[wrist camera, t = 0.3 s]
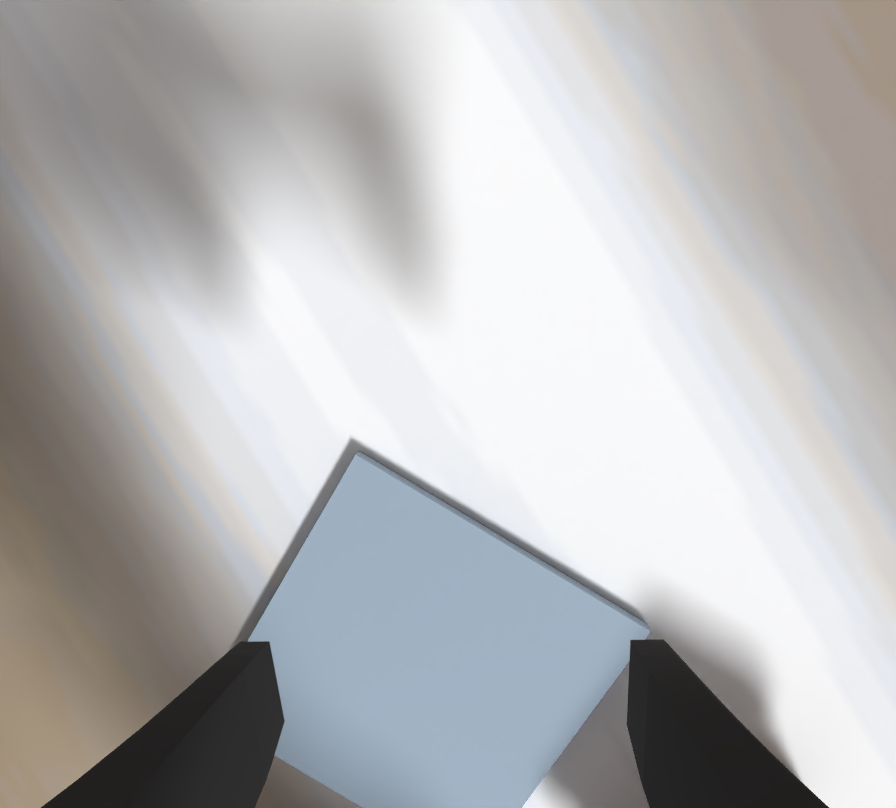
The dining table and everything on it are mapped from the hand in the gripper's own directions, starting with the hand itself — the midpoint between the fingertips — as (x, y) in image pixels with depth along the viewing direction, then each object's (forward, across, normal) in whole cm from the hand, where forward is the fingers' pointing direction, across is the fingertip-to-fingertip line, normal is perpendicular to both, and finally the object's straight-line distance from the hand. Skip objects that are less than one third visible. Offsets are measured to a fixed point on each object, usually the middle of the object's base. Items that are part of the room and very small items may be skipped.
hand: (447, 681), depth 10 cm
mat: (+10, +2, +9) cm, 13 cm away
